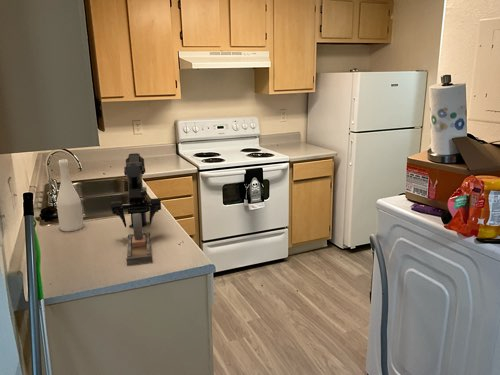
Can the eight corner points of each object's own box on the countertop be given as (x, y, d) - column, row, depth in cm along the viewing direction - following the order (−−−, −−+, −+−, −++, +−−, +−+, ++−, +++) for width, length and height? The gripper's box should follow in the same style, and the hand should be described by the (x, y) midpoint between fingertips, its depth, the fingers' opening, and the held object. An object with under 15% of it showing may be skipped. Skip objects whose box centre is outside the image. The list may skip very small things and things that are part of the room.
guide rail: (128, 240, 162) (127, 233, 161) (150, 238, 164) (149, 231, 163) (126, 265, 140) (126, 257, 139) (152, 262, 142) (151, 254, 141)
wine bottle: (64, 224, 180) (55, 158, 173) (86, 223, 181) (78, 157, 174) (56, 232, 171) (46, 162, 164) (80, 231, 172) (71, 161, 165)
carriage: (132, 240, 158) (130, 212, 155) (145, 239, 159) (143, 210, 156) (132, 247, 151) (129, 217, 148) (145, 246, 152) (143, 216, 149)
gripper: (108, 182, 155) (110, 218, 148) (159, 178, 160) (162, 214, 153) (112, 196, 165) (113, 231, 157) (159, 192, 169) (162, 226, 162)
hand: (138, 225), depth 157 cm, fingers open, 9 cm apart
